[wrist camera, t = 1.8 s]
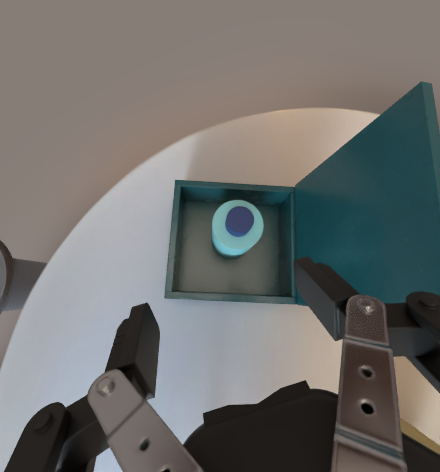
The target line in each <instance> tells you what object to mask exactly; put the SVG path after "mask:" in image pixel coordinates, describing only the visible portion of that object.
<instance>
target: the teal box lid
mask: <svg viewBox="0 0 440 472" xmlns="http://www.w3.org/2000/svg"><path fill="white" fill-rule="evenodd" d="M295 201H296V252H297V259H299V258H303V257H306V256H308V257H309V258H310V259H311V260H312V261H313V262H314V263H319V262H320V263H323V264H325V265H328V266H330V267H331V268H332V269H333V270H334V271H335V272H336V273H337V274H339V275H340V276H341V278H343V279H344V280H345V281H347V282H348V283H349V284H350V285H351V286H352V287H353V288H354V289H356V290H357V291H358V292H359V293H360V294H361V295H370V296H373V297H375V298H377V299H379V300H380V301H382V302H383V303H406V297H407V296H408V295H409V294H410V293H413V292H419V291H422V292H430V293H434V294H437V295H439V296H440V132H439V126H438V120H437V113H436V107H435V101H434V95H433V88H432V84H430V83H426V82H420V83H419V84H418V85H416V86H415V87H414V88H413V89H412V90H410V91H409V92H408V93H407V94H405V95H404V96H403V97H402V98H401V99H399V100H398V101H397V102H396V103H395V104H393V105H392V106H391V107H390V108H388V109H387V110H386V111H385V112H384V113H382V114H381V115H380V116H379V117H378V118H376V119H375V120H374V121H373V122H371V123H370V124H369V125H368V126H367V127H365V128H364V129H363V130H362V131H361V132H359V133H358V134H357V135H356V136H355V137H353V138H352V139H351V140H350V141H348V142H347V143H346V144H345V145H344V146H342V147H341V148H340V149H339V150H338V151H336V152H335V153H334V154H333V155H331V156H330V157H329V158H328V159H327V160H325V161H324V162H323V163H322V164H321V165H319V166H318V167H317V168H316V169H314V170H313V171H312V172H311V173H310V174H308V175H307V176H306V177H305V178H304V179H302V180H301V181H300V182H299V183H298V184H296V185H295ZM297 304H298V305H302V306H308V305H307V303H306V302H305V301H304V299H303V298H302V297H301V295H300V294H299V292H298V290H297Z"/></svg>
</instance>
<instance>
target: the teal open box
mask: <svg viewBox="0 0 440 472" xmlns="http://www.w3.org/2000/svg"><path fill="white" fill-rule="evenodd" d="M232 200H243V201H246V202H249V203H250V204H252V205H254V206H255V207H256V208H257V209H258V211H259V212H260V214H261V216H262V218H263V224H264V227H263V233H262V235H261V237H260V239H259V240H258V242H257V243H256V244H255V245H253V246H252V247H251V248H250V249H249V250H248V251H247V252H246V253H245V254H244V255H242V256H241V257H239V258H236V259H226V258H223V257H221V256H220V255H218V254H217V253H216V251H215V250H214V248H213V246H212V221H213V216H214V214H215V212H216V211H217V209H218V208H219V207H220V206H221V205H223V204H224V203H226V202H228V201H232ZM296 259H297V252H296V201H295V187H283V186H267V185H251V184H234V183H218V182H202V181H185V180H175V188H174V199H173V210H172V221H171V232H170V243H169V254H168V265H167V276H166V287H165V298H167V299H189V300H211V301H233V302H255V303H277V304H297V288H296V284H295V276H294V267H293V261H294V260H296Z"/></svg>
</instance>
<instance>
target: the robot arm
mask: <svg viewBox="0 0 440 472" xmlns="http://www.w3.org/2000/svg"><path fill="white" fill-rule="evenodd" d="M293 267H294V276H295V284H296V288H297V290H298V292H299V294H300V295H301V297H302V298H303V299H304V301H305V302H306V303H307V305H308V306H309V307H310V309H311V310H312V311H313V313H314V314H315V315H316V317H317V318H318V319H319V320H320V322H321V323H322V324H323V326H324V327H325V328H326V330H327V331H328V332H329V334H330V335H331V336H332V338H333V339H334V340H335V341H338V340H341V339H343V344H342V356H341V368H340V380H339V392H338V394H335V393H333V392H330V391H326V390H321V389H310V388H309V386H308V384H307V382H306V380H305V381H302V382H299V383H296V384H292V385H289V386H286V387H283V388H280V389H279V390H277V391H276V392H274V393H273V394H272V395H270V396H269V397H267V398H266V399H264V400H263V401H261V402H260V403H257V404H245V405H227V406H224V407H221V408H218V409H215V410H212V411H209V412H206V413H203V418H204V424H202V425H201V426H199V427H198V428H197V429H196V430H195V431H194V432H193V433H192V434H191V435H190V436H189V437H188V439H187V440H186V441H185V443H184V444H183V445H182V444H181V442H180V441H179V440H178V439H177V437H176V436H175V435H174V434H173V432H172V431H171V430H170V429H169V427H168V426H167V425H166V424H165V422H164V421H163V420H162V419H161V418H160V416H159V415H158V414H157V413H156V411H155V410H154V409H153V408H152V406H151V405H150V404H149V403H148V402H147V400H148V399H151V398H154V397H155V388H156V376H157V364H158V352H159V340H160V331H159V326H158V323H157V321H156V319H155V317H154V315H153V313H152V310H151V308H150V306H149V304H148V303H144V304H141V305H137V306H134V307H132V309H131V313H130V316H129V318H128V319H125V320H123V322H122V323H121V325H120V326H119V327H118V329H117V333H116V336H115V339H114V343H113V346H112V349H111V353H110V356H109V359H108V363H107V366H106V369H105V373H103V374H102V375H101V376H99V377H98V378H97V379H96V380H95V381H94V382H93V384H92V385H91V387H90V389H89V391H88V395H86V396H85V397H83V398H81V399H80V400H78V401H76V402H75V403H73V404H71V405H70V406H68V407H65V406H64V405H63V404H62V403H60V402H55V403H51V404H49V405H47V406H45V407H44V408H42V409H41V410H40V411H38V412H37V413H36V414H35V415H34V416H33V417H32V418H31V419H30V421H29V422H28V423H27V425H26V426H25V428H24V430H23V432H22V435H21V437H20V439H19V441H18V443H17V445H16V447H15V449H14V452H13V454H12V456H11V458H10V460H9V462H8V464H7V467H6V469H5V471H4V472H93V471H94V466H95V461H96V456H98V455H99V454H100V453H102V452H103V451H105V450H106V449H108V448H109V447H110V448H111V450H112V452H113V454H114V456H115V458H116V460H117V461H118V463H119V465H120V467H121V469H122V471H123V472H440V454H438V453H437V452H435V451H433V450H432V449H430V448H428V447H426V446H425V445H423V444H421V443H420V442H418V441H416V440H415V439H413V438H411V437H410V436H408V435H406V434H405V433H403V432H401V426H400V416H399V407H398V397H397V388H396V378H395V369H394V360H393V356H406V358H407V359H408V360H409V361H410V362H411V363H412V364H413V365H414V366H415V367H416V368H417V369H418V370H419V371H420V373H421V374H422V375H423V376H424V377H425V378H426V379H427V380H428V381H429V382H430V383H431V384H432V385H433V387H434V388H435V389H436V390H437V391H438V392H439V393H440V296H439V295H437V294H434V293H430V292H422V291H419V292H413V293H410V294H409V295H408V296H407V297H406V303H383V302H382V301H380V300H379V299H377V298H375V297H373V296H370V295H361V294H360V293H359V292H358V291H357V290H356V289H354V288H353V287H352V286H351V285H350V284H349V283H348V282H347V281H345V280H344V279H343V278H341V276H340V275H339V274H337V273H336V272H335V271H334V270H333V269H332V268H331V267H330V266H328V265H325V264H323V263H320V262H319V263H314V262H313V261H312V260H311V259H310V258H309V257H308V256H306V257H303V258H299V259H296V260H294V261H293Z"/></svg>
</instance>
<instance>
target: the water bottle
mask: <svg viewBox="0 0 440 472" xmlns="http://www.w3.org/2000/svg"><path fill="white" fill-rule="evenodd" d="M263 227H264V224H263V218H262V216H261V214H260V212H259V211H258V209H257V208H256V207H255V206H254V205H252V204H250V203H249V202H246V201H243V200H232V201H228V202H226V203H224V204H223V205H221V206H220V207H219V208H218V209H217V211H216V212H215V214H214V216H213V221H212V246H213V248H214V250H215V251H216V253H217V254H218V255H220V256H221V257H223V258H226V259H236V258H239V257H241V256H242V255H244V254H245V253H246V252H247V251H248V250H249V249H250V248H251V247H252V246H253V245H255V244H256V243H257V242H258V240H259V239H260V237H261V235H262V233H263Z"/></svg>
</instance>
